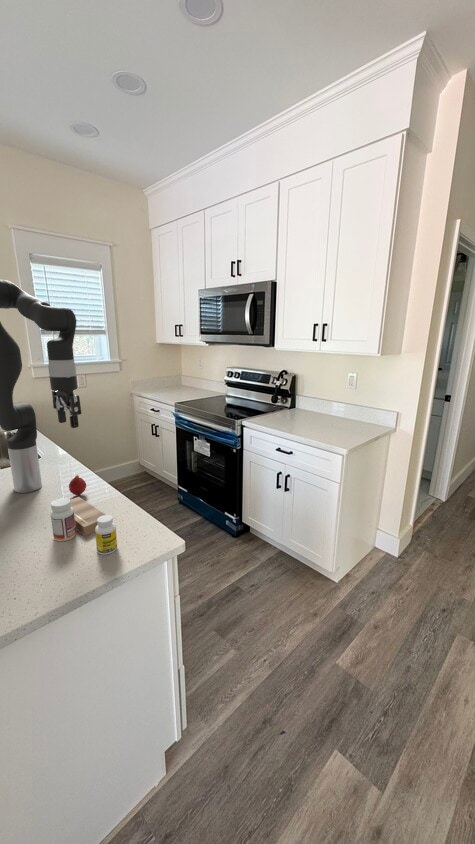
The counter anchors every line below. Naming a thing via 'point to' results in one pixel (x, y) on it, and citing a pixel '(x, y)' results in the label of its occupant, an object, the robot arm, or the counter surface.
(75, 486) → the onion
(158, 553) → the counter surface
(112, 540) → the supplement bottle
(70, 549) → the counter surface
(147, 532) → the counter surface
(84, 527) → the brown banded box
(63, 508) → the pill bottle
